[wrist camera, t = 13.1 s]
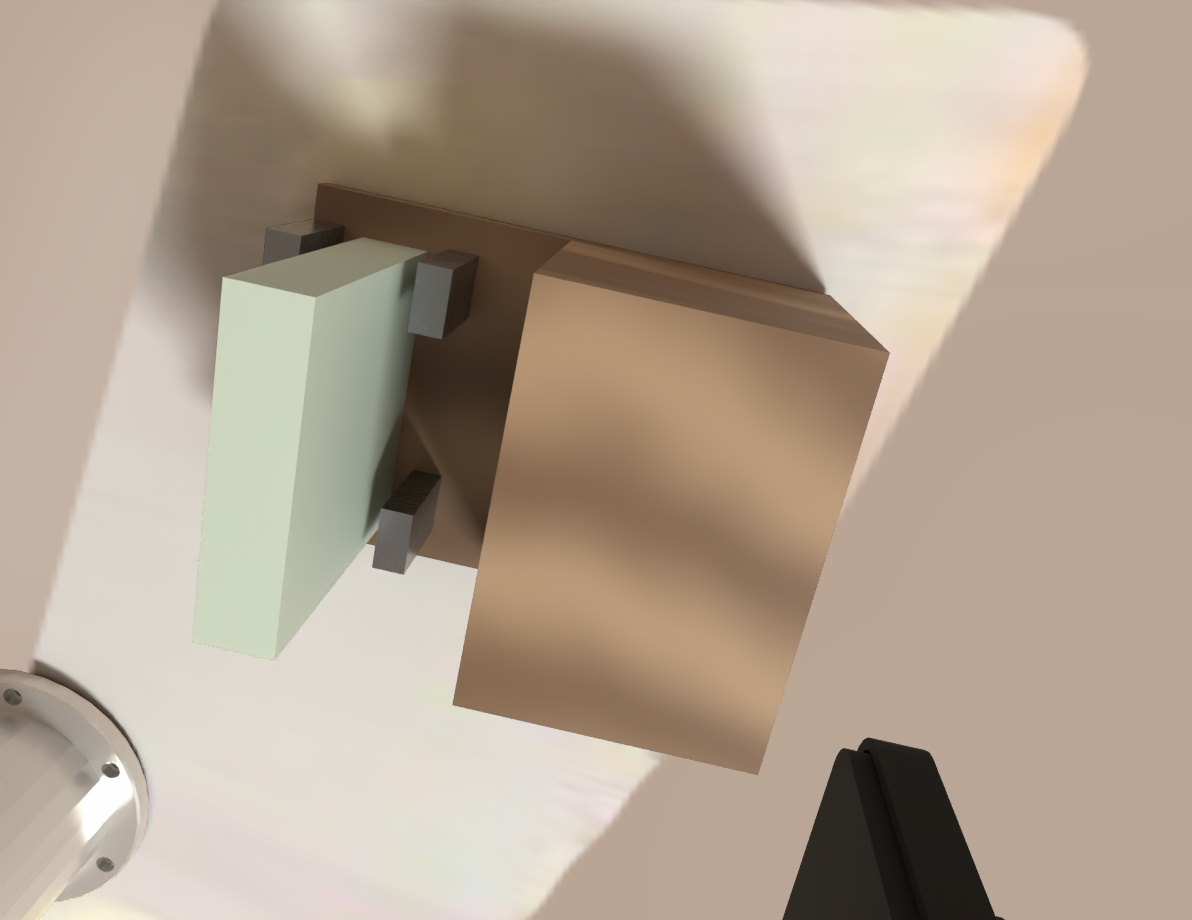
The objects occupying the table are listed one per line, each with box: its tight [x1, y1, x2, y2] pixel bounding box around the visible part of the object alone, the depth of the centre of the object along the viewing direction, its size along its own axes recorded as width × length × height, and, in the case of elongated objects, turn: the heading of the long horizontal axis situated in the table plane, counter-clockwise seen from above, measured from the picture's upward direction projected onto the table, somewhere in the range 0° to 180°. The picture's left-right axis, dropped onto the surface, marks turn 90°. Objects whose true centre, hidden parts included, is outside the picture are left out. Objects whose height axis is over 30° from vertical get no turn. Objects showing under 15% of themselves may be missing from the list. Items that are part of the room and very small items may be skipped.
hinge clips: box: [263, 219, 479, 575], centre depth 36 cm, size 11×6×4 cm, turn 168°
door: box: [192, 237, 428, 661], centre depth 33 cm, size 11×3×12 cm, turn 168°
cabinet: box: [314, 183, 890, 775], centre depth 34 cm, size 14×20×11 cm
